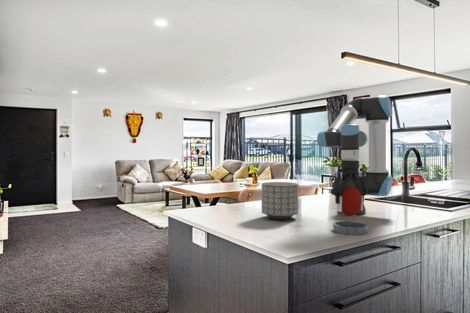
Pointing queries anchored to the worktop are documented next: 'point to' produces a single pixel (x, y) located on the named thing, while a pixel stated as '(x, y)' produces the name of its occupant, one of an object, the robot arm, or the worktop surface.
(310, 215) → the worktop surface
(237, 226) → the worktop surface
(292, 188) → the planter
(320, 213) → the worktop surface
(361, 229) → the grey shallow round dish
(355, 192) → the apple
